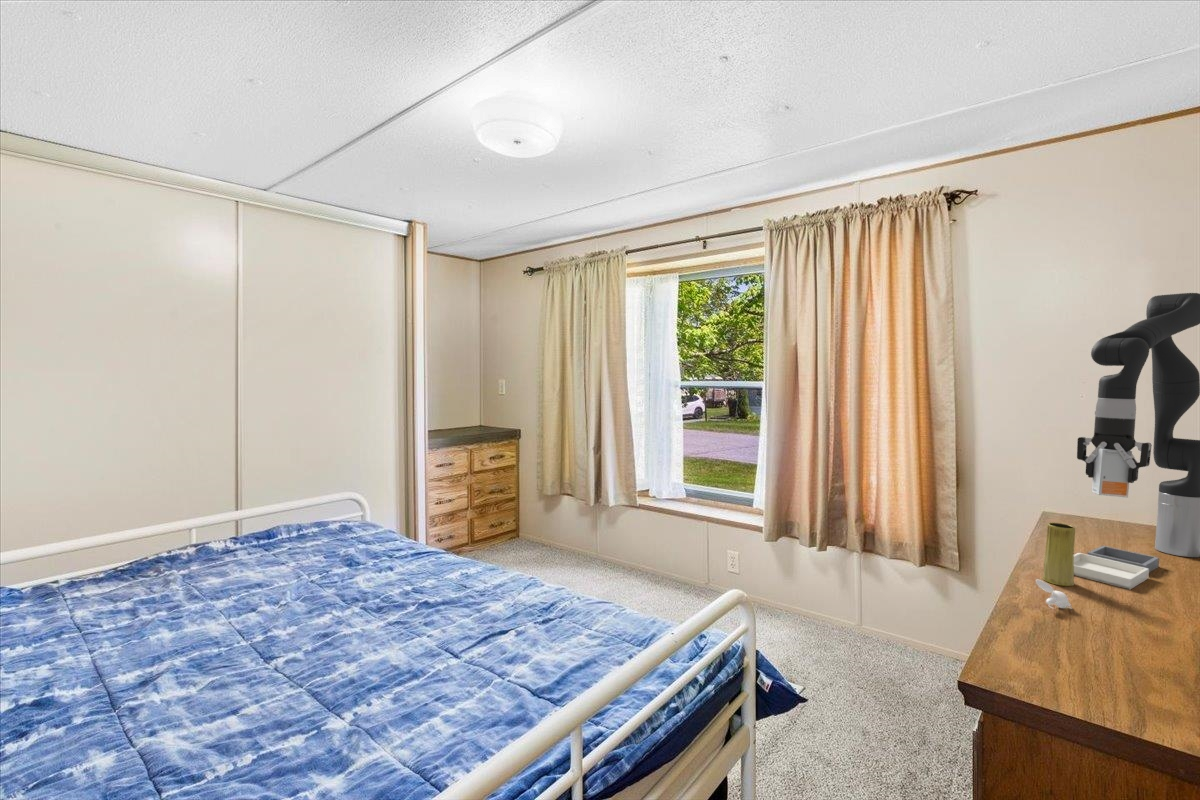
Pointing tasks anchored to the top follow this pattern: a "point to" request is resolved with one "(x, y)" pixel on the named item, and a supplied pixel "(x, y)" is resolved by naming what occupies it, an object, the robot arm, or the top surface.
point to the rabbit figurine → (1054, 596)
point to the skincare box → (1110, 473)
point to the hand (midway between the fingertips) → (1110, 479)
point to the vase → (1059, 554)
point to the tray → (1109, 571)
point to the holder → (1126, 557)
